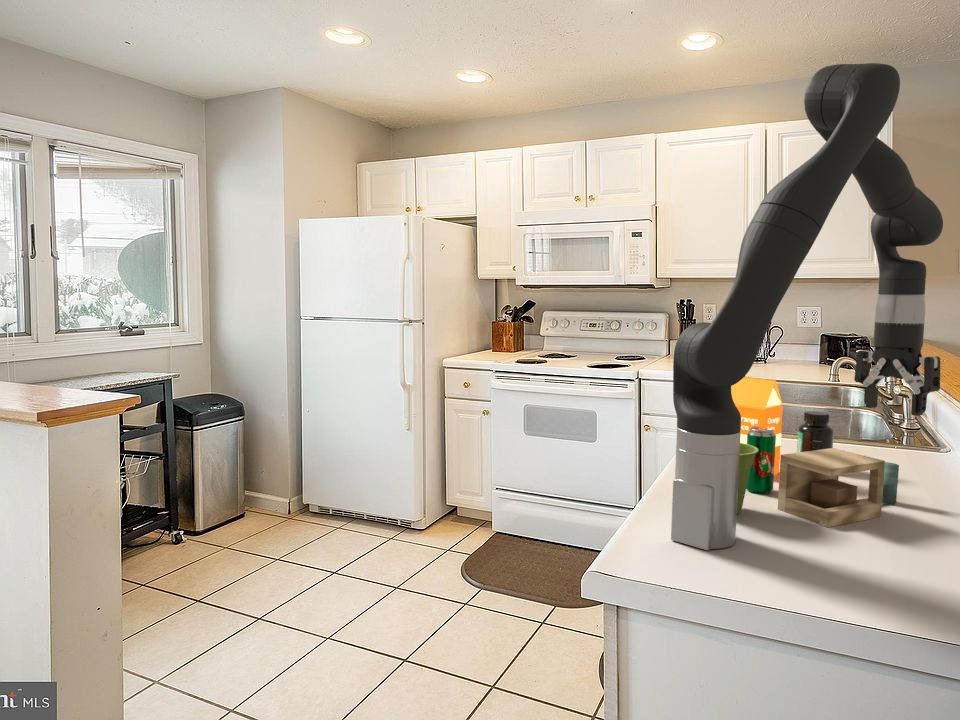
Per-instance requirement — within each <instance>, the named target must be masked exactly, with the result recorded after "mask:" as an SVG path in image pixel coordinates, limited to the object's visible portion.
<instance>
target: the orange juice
mask: <svg viewBox="0 0 960 720" xmlns="http://www.w3.org/2000/svg"><path fill="white" fill-rule="evenodd" d="M731 393H732V398H733V401H734V403H735V405H736V407H737V409H738V410H739V412H740V414H741V436H740V443H744V444H747V433H748V432H749V430H750V427H767V428H771V429H774V433H775V435H776V445H775V464H774V476H775V475H778V474H780V458H781V446H782V424H783V423H782V421H783V407H784V405H783V401H782V397H781V395H780V394H781V393H780V392H779V387H778V384H777V380H776V379H769V378H762V377H754V376H753V377H752V376H745V377H744V378H743V379H742V380H740V381H739V382H738V383H736V384H734V385H732V386H731Z"/></svg>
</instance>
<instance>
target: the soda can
mask: <svg viewBox="0 0 960 720" xmlns="http://www.w3.org/2000/svg"><path fill="white" fill-rule="evenodd" d="M747 444H749V445H752V446H754V447H756V448H758V450H759V451H758V453H756V454H755V456H754V461H753V465H752V466H751V469H750V473H749V478H748V482H747V487H746V491H747V492H749V493H753V494H761V495H763V494H764V495H765V494H766V495H767V494H770V493H772V491H773V490H774V479H775V478H774V477H775V475H774V464H775V445H776V435H775V433H774V429H771V428H767V427H750V430H749V432H748V433H747Z"/></svg>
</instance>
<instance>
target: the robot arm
mask: <svg viewBox="0 0 960 720" xmlns="http://www.w3.org/2000/svg"><path fill="white" fill-rule="evenodd" d="M900 87H901V78H900V74H899V72H898V70H897V69H896V68H895V67H894V66H892V65H890V64H886V63H878V62H877V63H876V62H874V63H873V62H871V63H870V62H869V63H842V64H841V63H840V64H832V65H831V64H830V65H827V66H824V67H822V68H820V69H818V70H817V71H816V72H815V73H814V74H813V76H812V77H811V78H810V80H809V82H808V84H807V86H806V89H805V93H804V99H803V102H804V104H803V105H804V111H805V115H806V117H807V119H808V121H809V122H810V124H811V126H812V127H813V129H815V131H816V132H817V133H818V134H819V135H820V137H822V139H823V140H824V141H825V143H824V144H823V145H822V147H821V148H820V149H819V150H818V151H817V152H816V153H815V154H814V155H812V156H811V157H810V158H808V160H807V161H805V162H804V163H803V164H801V165H800V166H799V167H797V168H795V169H794V170H793V171H792V172H791V173H789V174H788V175H787V176H785V177H784V178H782V180H780V181H779V182H778V183H777V184H776V185H774V186H773V188H771V189H770V190H769V191H768V193H767V194H766V195H765V196H764V198H763V199H762V201H761V202H760V204H759V206H758V208H757V209H756V212H755V213H754V215H753V216H752V219H751V221H750V222H749V225H748V227H747V228H746V230H745V232H744V235H743V238H742V242H741V245H740V249H739V255H738V261H737V267H736V268H737V269H736V274H735V278H734V281H733V284H732V287H731V289H730V291H729V293H728V296H727V297H726V299H725V301H724V302H723V304H722V306H721V307H720V309H719V311H718V312H717V314H716V315H715V317H714V318H713V320H712V321H711V322H706V321H703V322H697V323H694V324H691V325H689V326H687V328H685V329H684V330H682V332H681V333H680V334H679V336H678V339H677V340H676V342H675V346H674V350H673V361H672V362H673V364H672V365H673V367H672V370H673V371H672V378H673V380H672V386H673V387H672V390H673V391H672V393H673V394H672V395H673V396H672V398H673V399H672V400H673V401H672V402H673V406H674V410H675V413H676V414H675V415H676V443H675V444H676V445H675V464H674V465H675V467H674V471H675V472H674V480H673V481H672V499H671V501H672V502H671V504H672V505H671V529H670V531H671V532H670V540H671V541H675V542H677V543H682V544H684V545H688V546H691V547H694V548H698V549H702V550H705V551H710V550H713V549H724V548H725V549H726V548H729V547H732V546H734V545H735V543H736V536H737V534H736V532H737V520H738V519H737V516H738V515H737V497H738V476H739V455H740V436H741V414H740V412H739V410H738V409H737V407H736V405H735V403H734V401H733V398H732V393H731V388H732V385H734V384H736V383H738V382H739V381H740V380H742V379H743V378H744V377H747V374H748V373H749V372H750V371H751V369H752V366H753V364H754V363H755V361H756V359H757V358H756V357H757V356H758V354H759V351H760V349H761V346H762V344H763V341H764V340H765V336H766V334H767V332H768V329H769V327H770V324H771V322H772V320H773V318H774V315H775V313H776V312H777V309H778V307H779V305H780V303H781V302H782V300H783V298H784V296H785V295H786V293H787V291H788V289H789V287H791V284H792V283H793V280H794V278H795V276H797V273H798V271H799V269H800V267H801V266H802V264H803V262H804V261H805V259H806V258H807V256H808V254H809V253H810V250H811V249H812V247H813V245H814V244H815V242H816V239H817V238H818V236H819V234H820V232H821V231H822V229H823V226H824V225H825V223H826V221H827V218H828V216H829V214H830V212H831V211H832V209H833V207H834V205H835V203H836V202H837V200H838V198H839V197H840V195H841V192H842V191H843V189H844V187H845V186H846V184H847V182H848V181H849V180H850V178H851V176H852V175H853V177H854V179H855V180H856V182H857V184H858V186H859V187H860V189H861V191H862V194H863V196H864V197H865V199H866V202H867V204H868V206H869V207H870V209H871V210H872V212H873V213H874V215H873V217H872V220H871V223H870V234H871V239H872V242H873V245H874V250H875V253H876V259H877V265H878V274H879V275H878V291H877V292H878V295H877V299H876V305H875V312H874V313H875V314H874V328H873V329H874V330H873V346H874V350H873V351H872V350H871V349H870V350H869V349H861V350H858V351H857V353H856V361H855V370H854V378H853V379H854V382H855V383H860V384H862V385H863V387H864V395H863V403H864V405H865V407H866V408H869V409H874V408H877V407H878V397H879V396H878V395H879V387H878V385H879V383H881V381H882V380H883V379H885V378H894V379H899V380H901V379H903V380H904V382H905V383H906V384H908V385H909V387H910V389H911V390H912V395H911V411H910V414H911V415H912V416H916V417H918V416H922V415H923V414H924V413H925V412H926V410H927V401H928V394H930V393H934V392H939V391H940V390H941V358H940V356H937V355H936V356H935V355H934V356H923V355H922V351H921V350H922V348H923V346H924V335H925V334H924V333H925V323H926V322H925V321H926V320H925V319H926V299H925V298H926V296H925V293H926V281H927V266H926V264H925V263H924V262H923V261H920V260H914V259H908V258H903V257H901V255H900V254H899V251H897V247H920V246H923V247H924V246H928V245H930V244H932V243H934V242H935V241H936V240H938V239H939V237H940V236H941V235H942V231H943V228H944V219H943V215H942V212H941V211H940V209H939V207H938V206H937V204H936V203H935V202H934V201H933V200H932V199H931V198H930V197H928V196H927V194H925V193H924V192H923V191H922V190H921V189H919V187H917V186H916V184H915V182H914V178H913V177H912V174H911V172H910V170H909V168H908V165H907V164H906V163H905V161H904V160H903V158H902V157H901V156H900V155H899V154H898V153H897V152H896V151H895V150H894V149H892V148H891V147H890V146H889V145H887V144H886V143H885V142H884V141H882V140H881V139H880V138H878V136H879V134H881V132H882V130H883V129H884V127H885V125H886V123H887V122H888V120H889V118H890V117H891V115H892V113H893V111H894V108H895V106H896V104H897V101H898V98H899V95H900V94H899V93H900V89H901V88H900ZM872 362H874V365H875V366H873V368H872V369H871V366H872V365H871V364H872ZM920 366H921V368H922V369H923V374H922V372H921V371H920V368H919V367H920Z"/></svg>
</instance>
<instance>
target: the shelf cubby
mask: <svg viewBox="0 0 960 720" xmlns="http://www.w3.org/2000/svg"><path fill="white" fill-rule="evenodd" d="M885 462H886V460H883V459H878V458H876V457H871V456H866V455H863V454H858V453H855V452H852V451H851V452H850V451H846V450H842V449H838V448H835V447H833V448H829V449H821V450H814V451H806V452H799V453H797V452H793V453H792V452H791V453H785V454H780V464H779V478H778V495H777V497H778V498H777V499H778V500H777V509H778V510H780V511H782V512H784V513H787V514H790V515H792V516H794V517H798V518H800V519H803V520H807V521H809V522H811V523H814V524H816V525H820V526H823V527H825V528H830V527H836V526H837V527H838V526H841V525H845V524H852V523H855V522H856V523H857V522H862V521H865V520H871V519H872V520H873V519H876V518H880V517H881V518H882V511H883V510H882V508H883V503H882V497H883V483H884V469H885ZM866 471H867V472H868V471H869V480H868V481H869V482H868V496H867V498H868V501H865V502H860V503H854V504H849V505H843V506H838V507H832V508H827V509H823V508H820V507H818V506H815V505H812V504H810V503H811V486H812V482H815V481H821V480H827V479H834V480H838V481H839V479H840V478H839V477H840V476H841V475H849V474H852V473H854V474H855V473H859V472H860V473H861V472H866Z"/></svg>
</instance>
